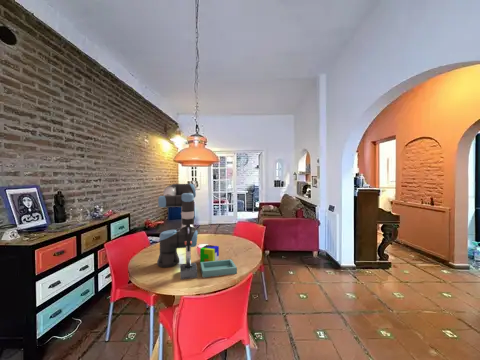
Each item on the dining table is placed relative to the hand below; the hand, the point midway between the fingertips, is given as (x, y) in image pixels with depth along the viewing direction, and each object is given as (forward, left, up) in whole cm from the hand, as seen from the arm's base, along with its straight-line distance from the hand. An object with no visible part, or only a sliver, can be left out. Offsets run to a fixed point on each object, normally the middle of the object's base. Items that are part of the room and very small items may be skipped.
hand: (188, 254), depth 149 cm
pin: (0, 0, -8) cm, 8 cm away
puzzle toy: (-20, +16, -13) cm, 29 cm away
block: (0, 0, -13) cm, 13 cm away
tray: (-1, +19, -13) cm, 23 cm away
